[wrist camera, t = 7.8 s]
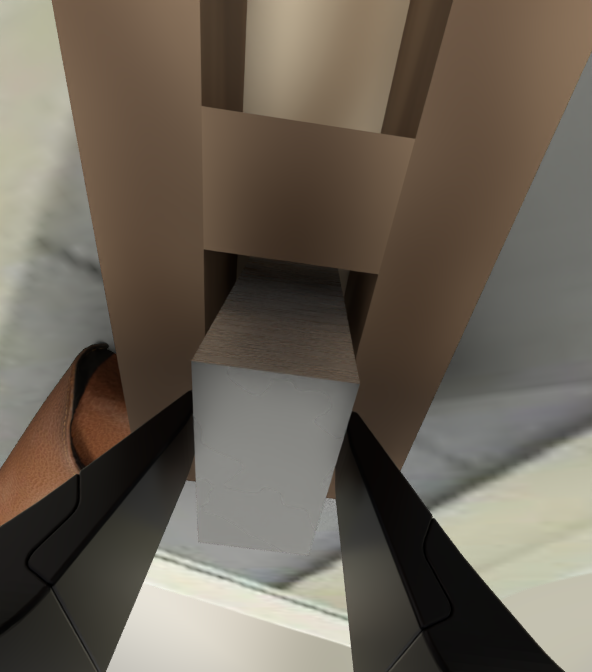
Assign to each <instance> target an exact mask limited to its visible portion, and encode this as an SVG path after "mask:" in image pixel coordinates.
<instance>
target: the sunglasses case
mask: <svg viewBox="0 0 592 672" xmlns="http://www.w3.org/2000/svg"><path fill="white" fill-rule="evenodd" d="M108 347H109V345H108V344H107V343H103V344H94V345H91V346H89V347H87V348H85V349H83V350H82V351H81V352H80V353H79V355H78V356H77V357H76V358H75V360H74V361H73V363H72V364H71V366H70V367H69V369H68V370H67V371H66V373H65V374H64V375H63V377H62V378H61V379H60V381H59V382H58V384H57V385H56V386H55V388H54V389H53V391H52V392H51V393H50V395H49V396H48V397H47V399H46V401H45V402H44V403H43V405H42V406H41V408H40V409H39V411H38V412H37V413H36V415H35V417H34V418H33V420H32V421H31V423H30V424H29V426H28V427H27V428H26V430H25V432H24V433H23V435H22V436H21V438H20V439H19V441H18V443H17V444H16V446H15V447H14V449H13V450H12V452H11V453H10V455H9V456H8V458H7V460H6V461H5V463H4V464H3V466H2V467H1V469H0V526H1V525H3V524H4V523H6V522H8V521H9V520H11V519H12V518H14V517H15V516H17V515H18V514H20V513H21V512H23V511H24V510H26V509H27V508H29V507H30V506H32V505H33V504H35V503H36V502H38V501H39V500H41V499H42V498H43V497H45V496H46V495H48V494H49V493H50V492H52V491H53V490H55V489H56V488H57V487H59V486H60V485H62V484H63V483H64V482H66V481H67V480H68V479H70V478H71V477H72V476H74V475H75V474H79V472H80V471H81V470H82V469H83V468H85V467H86V466H88V465H89V464H90V463H92V462H93V461H94V460H96V459H97V458H98V457H100V456H101V455H102V454H104V453H105V452H106V451H108V450H109V449H110V448H112V447H113V446H115V445H116V444H117V443H119V442H120V441H121V440H123V439H124V438H125V437H127V436H128V435H129V434H131V431H130V426H129V420H128V415H127V409H126V404H125V398H124V393H123V387H122V382H121V377H120V371H119V366H118V360H117V355H116V354H115V353H114V352H111V351H109V350H108Z"/></svg>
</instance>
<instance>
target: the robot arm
mask: <svg viewBox="0 0 592 672" xmlns="http://www.w3.org/2000/svg"><path fill="white" fill-rule="evenodd" d="M194 455H195V446H194V420H193V393H192V390H189V391H187V392H186V393H185V394H183V395H182V396H181V397H179V398H178V399H177V400H175V401H174V402H173V403H171V404H170V405H169V406H167V407H166V408H164V409H163V410H162V411H160V412H159V413H158V414H156V415H155V416H154V417H152V418H151V419H150V420H148V421H147V422H146V423H144V424H143V425H142V426H140V427H139V428H137V429H136V430H135V431H133V432H132V433H131V434H129V435H128V436H127V437H125V438H124V439H123V440H121V441H120V442H119V443H117V444H116V445H115V446H113V447H112V448H110V449H109V450H108V451H106V452H105V453H104V454H102V455H101V456H100V457H98V458H97V459H96V460H94V461H93V462H92V463H90V464H89V465H88V466H86V467H85V468H83V469H82V470H81V471H80V472H79V474H75V475H74V476H72V477H71V478H70V479H68V480H67V481H66V482H64V483H63V484H62V485H60V486H59V487H57V488H56V489H55V490H53V491H52V492H50V493H49V494H48V495H46V496H45V497H43V498H42V499H41V500H39V501H38V502H36V503H35V504H33V505H32V506H30V507H29V508H27V509H26V510H24V511H23V512H21V513H20V514H18V515H17V516H15V517H14V518H12V519H11V520H9V521H8V522H6V523H4V524H3V525H1V526H0V672H106V670H107V668H108V665H109V663H110V660H111V658H112V656H113V653H114V651H115V649H116V646H117V644H118V641H119V639H120V637H121V634H122V632H123V629H124V627H125V625H126V622H127V620H128V618H129V615H130V612H131V610H132V608H133V606H134V603H135V601H136V599H137V596H138V594H139V591H140V589H141V587H142V584H143V582H144V579H145V577H146V575H147V572H148V570H149V568H150V565H151V563H152V560H153V558H154V556H155V553H156V551H157V548H158V546H159V544H160V541H161V539H162V537H163V534H164V532H165V529H166V527H167V525H168V522H169V520H170V517H171V515H172V513H173V510H174V508H175V506H176V503H177V501H178V498H179V496H180V494H181V491H182V489H183V486H184V484H185V482H186V479H187V477H188V474H189V471H190V468H191V465H192V462H193V458H194ZM335 495H336V506H337V515H338V525H339V535H340V544H341V554H342V563H343V573H344V583H345V592H346V602H347V612H348V621H349V631H350V641H351V649H352V660H353V670H354V672H565V671H564V670H563V669H562V668H560V667H559V666H558V665H557V664H556V663H555V662H554V661H553V660H552V659H551V658H550V657H549V656H548V655H547V654H546V653H545V652H544V650H543V649H542V648H541V647H540V646H539V645H538V644H537V643H536V642H535V640H534V639H533V638H532V637H531V636H530V635H529V633H528V632H527V631H526V630H525V629H524V628H523V626H522V625H521V624H520V623H519V622H518V621H517V619H516V618H515V617H514V616H513V615H512V614H511V612H510V611H509V610H508V609H507V608H506V607H505V605H504V604H503V603H502V602H501V601H500V599H499V598H498V597H497V596H496V595H495V594H494V592H493V591H492V590H491V589H490V588H489V587H488V585H487V584H486V583H485V582H484V581H483V580H482V578H481V577H480V576H479V575H478V574H477V572H476V571H475V570H474V569H473V568H472V566H471V565H470V564H469V563H468V561H467V560H466V559H465V558H464V557H463V555H462V554H461V553H460V551H459V550H458V549H457V548H456V546H455V545H454V544H453V542H452V541H451V540H450V538H449V537H448V536H447V534H446V533H445V532H444V530H443V529H442V528H441V526H440V525H439V524H438V522H437V521H436V519H434V518H432V517H433V516H432V514H431V513H430V511H429V510H428V509H427V507H426V506H425V505H424V503H423V502H422V500H421V499H420V498H419V496H418V495H417V494H416V492H415V491H414V489H413V488H412V487H411V485H410V484H409V483H408V481H407V480H406V478H405V477H404V476H403V474H402V473H401V472H400V470H399V469H398V467H397V466H396V465H395V463H394V462H393V461H392V459H391V458H390V456H389V455H388V454H387V452H386V451H385V450H384V448H383V447H382V445H381V444H380V443H379V441H378V440H377V439H376V437H375V436H374V434H373V433H372V432H371V430H370V429H369V428H368V426H367V425H366V424H365V422H364V421H363V419H362V418H361V417H360V415H359V414H358V413H357V412H354V411H352V412H351V415H350V419H349V422H348V425H347V429H346V432H345V435H344V439H343V442H342V445H341V449H340V452H339V455H338V459H337V462H336V466H335Z"/></svg>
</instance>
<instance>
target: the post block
mask: <svg viewBox="0 0 592 672" xmlns="http://www.w3.org/2000/svg"><path fill="white" fill-rule="evenodd" d="M52 5H53V10H54V16H55V21H56V27H57V32H58V38H59V43H60V49H61V54H62V60H63V65H64V70H65V76H66V81H67V87H68V92H69V98H70V103H71V109H72V114H73V120H74V125H75V131H76V136H77V142H78V147H79V152H80V158H81V163H82V169H83V174H84V180H85V185H86V191H87V196H88V202H89V207H90V213H91V218H92V223H93V229H94V234H95V240H96V245H97V251H98V256H99V262H100V267H101V273H102V278H103V284H104V289H105V295H106V300H107V305H108V311H109V316H110V322H111V327H112V333H113V338H114V344H115V349H116V355H117V360H118V366H119V371H120V377H121V382H122V387H123V393H124V398H125V404H126V409H127V415H128V420H129V426H130V431H131V433H132V432H133V431H135V430H136V429H137V428H139V427H140V426H142V425H143V424H144V423H146V422H147V421H148V420H150V419H151V418H152V417H154V416H155V415H156V414H158V413H159V412H160V411H162V410H163V409H164V408H166V407H167V406H169V405H170V404H171V403H173V402H174V401H175V400H177V399H178V398H179V397H181V396H182V395H183V394H185V393H186V392H187V391H189V390H192V367H191V361H192V359H193V357H194V355H195V354H196V352H197V350H198V348H199V347H200V345H201V343H202V341H203V339H204V338H205V336H206V334H207V332H208V331H209V329H210V327H211V325H212V324H213V322H214V320H215V318H216V316H217V315H218V313H219V311H220V309H221V308H222V306H223V304H224V302H225V301H226V299H227V297H228V295H229V293H230V292H231V290H232V288H233V286H234V285H235V283H236V281H237V279H238V278H239V276H240V274H241V272H242V270H243V269H244V267H245V265H246V263H247V262H248V260H249V258H250V256H254V257H261V258H268V259H275V260H282V261H289V262H296V263H303V264H310V265H317V266H324V267H331V268H338V272H339V277H340V282H341V288H342V293H343V298H344V303H345V309H346V314H347V319H348V324H349V330H350V335H351V340H352V346H353V351H354V356H355V361H356V367H357V372H358V377H359V382H360V385H359V388H358V392H357V395H356V398H355V402H354V405H353V409H352V411H354V412H357V413H358V414H359V415H360V417H361V418H362V419H363V421H364V422H365V424H366V425H367V426H368V428H369V429H370V430H371V432H372V433H373V434H374V436H375V437H376V439H377V440H378V441H379V443H380V444H381V445H382V447H383V448H384V450H385V451H386V452H387V454H388V455H389V456H390V458H391V459H392V461H393V462H394V463H395V465H396V466H397V467H398V469H399V470H400V471H401V469H402V466H403V464H404V462H405V460H406V458H407V455H408V453H409V451H410V449H411V447H412V444H413V442H414V440H415V438H416V436H417V433H418V431H419V429H420V427H421V425H422V422H423V420H424V418H425V416H426V414H427V411H428V409H429V407H430V405H431V403H432V400H433V398H434V396H435V394H436V392H437V389H438V387H439V385H440V383H441V381H442V379H443V376H444V374H445V372H446V370H447V368H448V365H449V363H450V361H451V359H452V357H453V354H454V352H455V350H456V348H457V346H458V343H459V341H460V339H461V337H462V335H463V332H464V330H465V328H466V326H467V324H468V321H469V319H470V317H471V315H472V313H473V310H474V308H475V306H476V304H477V302H478V300H479V297H480V295H481V293H482V291H483V289H484V286H485V284H486V282H487V280H488V278H489V275H490V273H491V271H492V269H493V267H494V264H495V262H496V260H497V258H498V256H499V253H500V251H501V249H502V247H503V245H504V242H505V240H506V238H507V236H508V234H509V231H510V229H511V227H512V225H513V223H514V221H515V218H516V216H517V214H518V212H519V210H520V207H521V205H522V203H523V201H524V199H525V196H526V194H527V192H528V190H529V188H530V185H531V183H532V181H533V179H534V177H535V174H536V172H537V170H538V168H539V166H540V163H541V161H542V159H543V157H544V155H545V152H546V150H547V148H548V146H549V144H550V141H551V139H552V137H553V135H554V133H555V131H556V128H557V126H558V124H559V122H560V120H561V117H562V115H563V113H564V111H565V109H566V106H567V104H568V102H569V100H570V98H571V95H572V93H573V91H574V89H575V87H576V84H577V82H578V80H579V78H580V76H581V73H582V71H583V69H584V67H585V65H586V62H587V60H588V58H589V56H590V54H591V52H592V0H52ZM186 480H188V481H196V472H195V455H194V458H193V462H192V465H191V468H190V471H189V474H188V477H187V479H186ZM326 498H332V499H336V495H335V469H334V472H333V476H332V479H331V482H330V486H329V489H328V492H327V496H326Z"/></svg>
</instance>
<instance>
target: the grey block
mask: <svg viewBox="0 0 592 672" xmlns="http://www.w3.org/2000/svg"><path fill="white" fill-rule="evenodd" d="M191 367H192V393H193V420H194V446H195V472H196V498H197V524H198V542H200V543H208V544H217V545H225V546H233V547H241V548H249V549H258V550H266V551H274V552H282V553H290V554H299V555H307V556H309V553H310V549H311V546H312V543H313V539H314V536H315V533H316V529H317V526H318V523H319V519H320V516H321V512H322V509H323V506H324V502H325V499H326V496H327V492H328V489H329V486H330V482H331V479H332V476H333V472H334V469H335V466H336V462H337V459H338V455H339V452H340V449H341V445H342V442H343V439H344V435H345V432H346V429H347V425H348V422H349V419H350V415H351V412H352V409H353V405H354V402H355V398H356V395H357V392H358V388H359V385H360V382H359V377H358V372H357V367H356V361H355V356H354V351H353V346H352V340H351V335H350V330H349V324H348V319H347V314H346V309H345V303H344V298H343V293H342V288H341V282H340V277H339V272H338V268H331V267H324V266H317V265H310V264H303V263H296V262H289V261H282V260H275V259H268V258H261V257H254V256H250V258H249V260H248V262H247V263H246V265H245V267H244V269H243V270H242V272H241V274H240V276H239V278H238V279H237V281H236V283H235V285H234V286H233V288H232V290H231V292H230V293H229V295H228V297H227V299H226V301H225V302H224V304H223V306H222V308H221V309H220V311H219V313H218V315H217V316H216V318H215V320H214V322H213V324H212V325H211V327H210V329H209V331H208V332H207V334H206V336H205V338H204V339H203V341H202V343H201V345H200V347H199V348H198V350H197V352H196V354H195V355H194V357H193V359H192V361H191Z"/></svg>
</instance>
